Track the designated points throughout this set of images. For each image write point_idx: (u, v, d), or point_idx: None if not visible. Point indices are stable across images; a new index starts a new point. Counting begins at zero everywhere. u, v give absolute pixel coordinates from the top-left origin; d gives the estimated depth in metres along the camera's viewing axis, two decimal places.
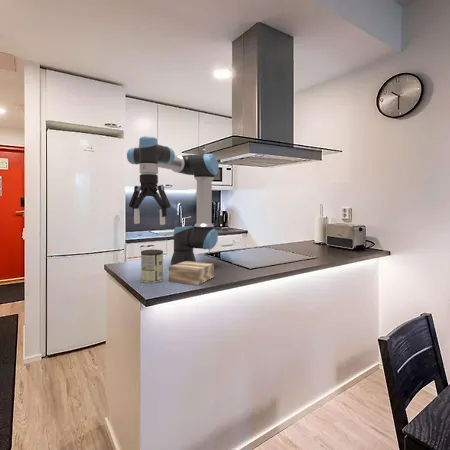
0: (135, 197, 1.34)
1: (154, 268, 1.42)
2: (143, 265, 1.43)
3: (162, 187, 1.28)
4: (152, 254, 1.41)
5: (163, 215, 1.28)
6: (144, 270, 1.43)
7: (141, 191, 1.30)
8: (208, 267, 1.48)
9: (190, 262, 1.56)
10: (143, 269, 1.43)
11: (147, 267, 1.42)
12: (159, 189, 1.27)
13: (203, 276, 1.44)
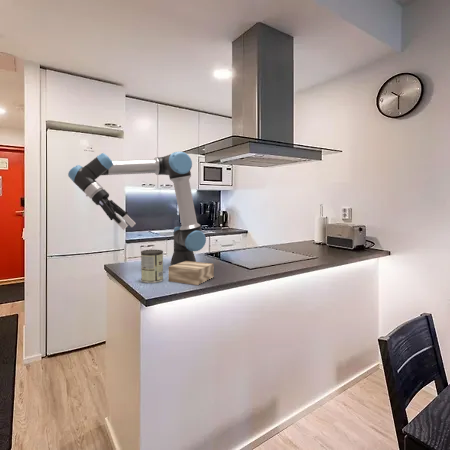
0: None
1: (154, 268, 1.42)
2: (143, 265, 1.43)
3: (101, 202, 1.37)
4: (152, 254, 1.41)
5: (117, 222, 1.37)
6: (144, 270, 1.43)
7: None
8: (208, 267, 1.48)
9: (190, 262, 1.56)
10: (143, 269, 1.43)
11: (147, 267, 1.42)
12: None
13: (203, 276, 1.44)
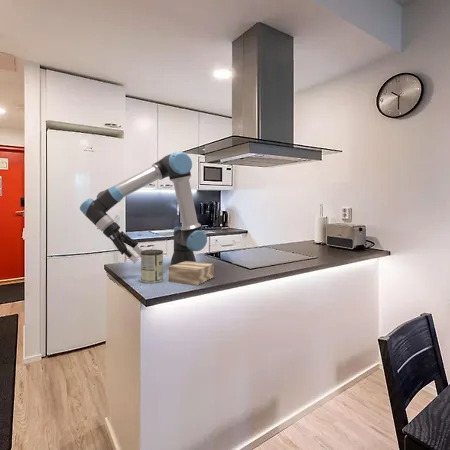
0: None
1: (154, 268, 1.42)
2: (143, 265, 1.43)
3: (112, 236, 1.38)
4: (152, 254, 1.41)
5: None
6: (144, 270, 1.43)
7: None
8: (208, 267, 1.48)
9: (190, 262, 1.56)
10: (143, 269, 1.43)
11: (147, 267, 1.42)
12: None
13: (203, 276, 1.44)
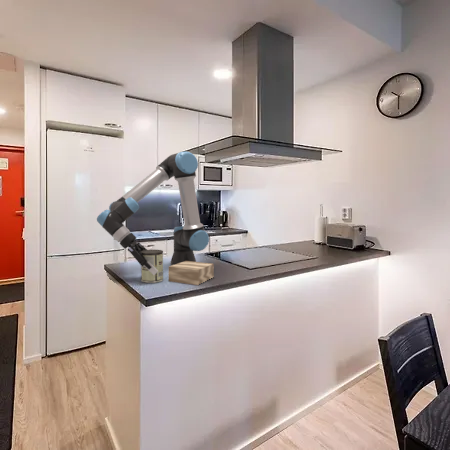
0: None
1: None
2: (143, 265, 1.43)
3: (130, 248, 1.39)
4: (152, 254, 1.41)
5: None
6: (144, 269, 1.43)
7: None
8: (208, 267, 1.48)
9: (190, 262, 1.56)
10: (143, 269, 1.43)
11: None
12: None
13: (203, 276, 1.44)
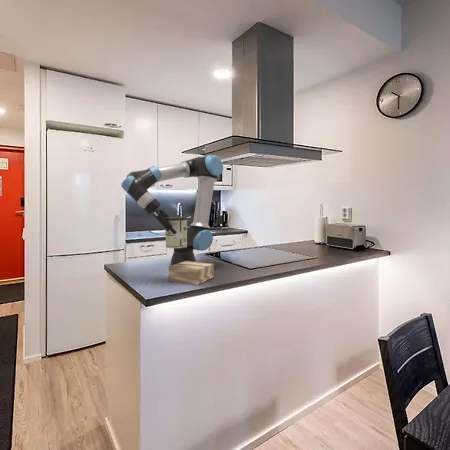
0: None
1: None
2: None
3: (155, 213, 1.39)
4: (177, 219, 1.41)
5: (173, 233, 1.40)
6: (168, 235, 1.42)
7: None
8: (208, 267, 1.48)
9: (190, 262, 1.56)
10: (168, 234, 1.43)
11: None
12: None
13: (203, 276, 1.44)
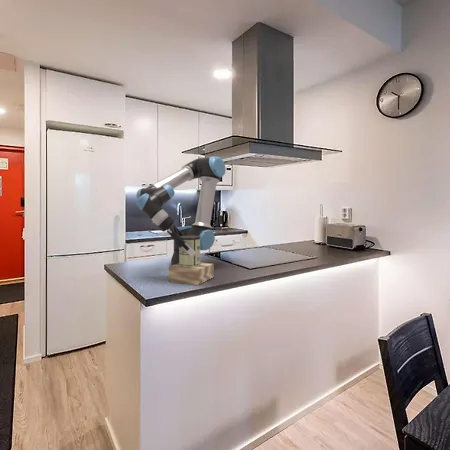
0: None
1: None
2: (182, 250, 1.45)
3: (169, 230, 1.41)
4: (191, 239, 1.43)
5: (186, 250, 1.41)
6: (183, 254, 1.45)
7: None
8: (208, 267, 1.48)
9: None
10: (182, 254, 1.45)
11: None
12: (169, 233, 1.42)
13: (203, 276, 1.44)
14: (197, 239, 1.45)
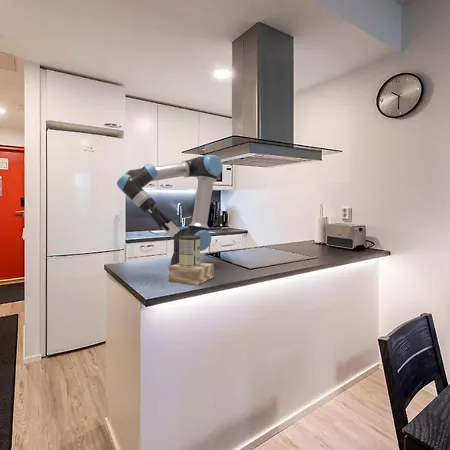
0: None
1: (192, 253, 1.44)
2: (182, 250, 1.45)
3: (150, 210, 1.40)
4: (191, 239, 1.43)
5: None
6: (183, 254, 1.45)
7: None
8: (208, 267, 1.48)
9: None
10: (182, 254, 1.45)
11: (186, 251, 1.44)
12: None
13: (203, 276, 1.44)
14: (197, 239, 1.45)
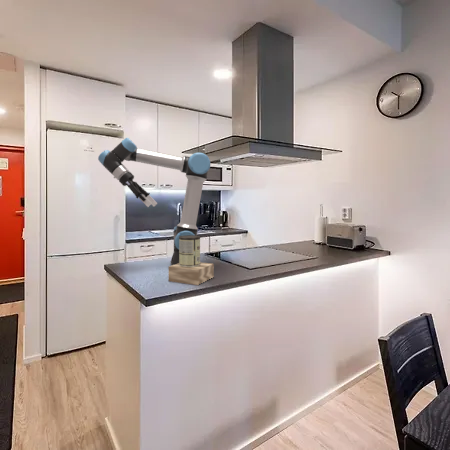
0: None
1: (192, 253, 1.44)
2: (182, 250, 1.45)
3: (128, 182, 1.53)
4: (191, 239, 1.43)
5: (142, 200, 1.53)
6: (183, 254, 1.45)
7: None
8: (208, 267, 1.48)
9: None
10: (182, 254, 1.45)
11: (186, 251, 1.44)
12: (127, 185, 1.54)
13: (203, 276, 1.44)
14: (197, 239, 1.45)
